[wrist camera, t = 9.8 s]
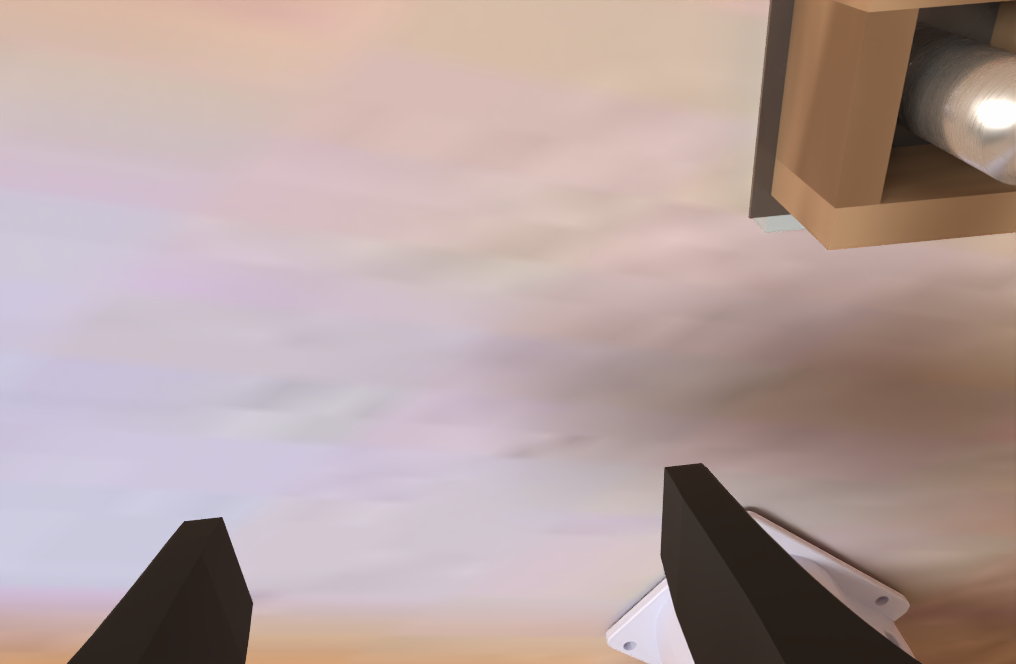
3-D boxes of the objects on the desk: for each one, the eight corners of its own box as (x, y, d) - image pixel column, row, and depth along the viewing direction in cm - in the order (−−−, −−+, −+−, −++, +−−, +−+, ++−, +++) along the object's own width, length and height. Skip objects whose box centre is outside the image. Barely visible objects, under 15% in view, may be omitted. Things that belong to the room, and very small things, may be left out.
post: (1085, -106, 17) (1300, -96, 13) (1003, 191, 21) (1149, 275, 17) (778, -79, 17) (894, -60, 13) (748, 217, 21) (831, 309, 16)
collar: (1063, -82, 17) (1190, -71, 15) (993, 174, 21) (1085, 225, 18) (802, -61, 17) (877, -46, 14) (771, 194, 20) (828, 250, 17)
